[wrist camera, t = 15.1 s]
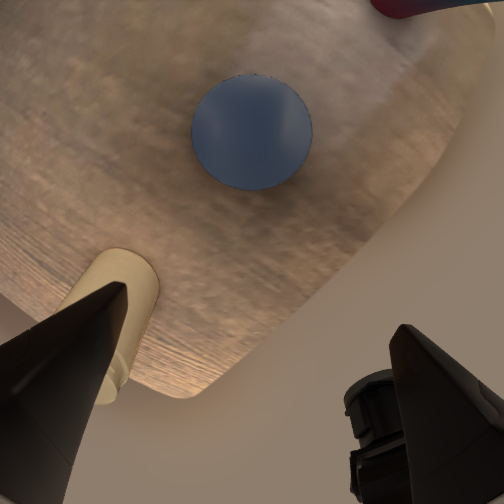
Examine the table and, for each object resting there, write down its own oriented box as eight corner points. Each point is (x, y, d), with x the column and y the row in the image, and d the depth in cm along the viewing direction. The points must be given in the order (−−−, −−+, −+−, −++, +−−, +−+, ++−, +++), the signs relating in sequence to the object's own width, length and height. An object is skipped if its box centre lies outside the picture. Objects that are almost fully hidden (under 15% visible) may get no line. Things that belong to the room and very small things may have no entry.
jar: (160, 255, 22) (113, 358, 13) (159, 316, 24) (128, 416, 16) (88, 242, 21) (18, 327, 12) (95, 303, 24) (47, 390, 15)
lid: (245, 54, 15) (245, 49, 13) (329, 127, 17) (337, 130, 15) (174, 138, 17) (166, 142, 16) (257, 203, 20) (257, 214, 18)
